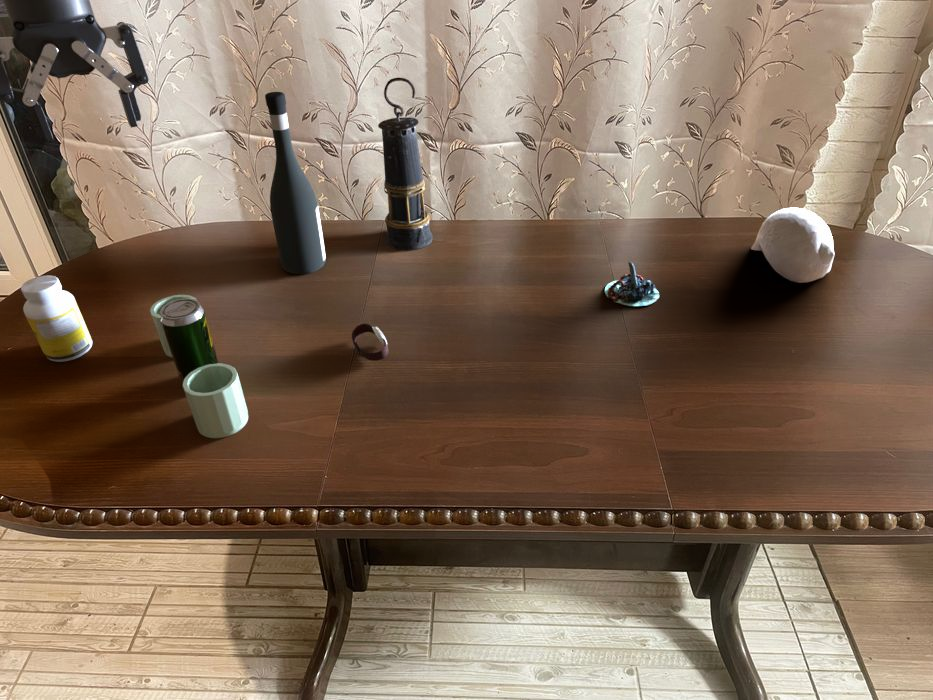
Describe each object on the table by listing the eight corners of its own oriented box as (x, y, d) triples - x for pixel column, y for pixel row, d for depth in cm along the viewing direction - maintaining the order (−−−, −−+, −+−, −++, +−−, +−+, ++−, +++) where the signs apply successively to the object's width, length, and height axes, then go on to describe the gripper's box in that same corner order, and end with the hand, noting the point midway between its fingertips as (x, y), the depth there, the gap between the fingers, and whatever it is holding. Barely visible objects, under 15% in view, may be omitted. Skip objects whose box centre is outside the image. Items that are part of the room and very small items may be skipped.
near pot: (204, 445, 81) (189, 402, 77) (191, 416, 85) (177, 374, 81) (254, 426, 84) (243, 383, 80) (240, 399, 88) (228, 357, 84)
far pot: (168, 363, 95) (155, 323, 91) (159, 341, 99) (146, 302, 95) (213, 349, 98) (202, 309, 93) (202, 329, 102) (191, 290, 98)
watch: (397, 357, 96) (395, 337, 93) (368, 368, 94) (365, 347, 91) (373, 332, 101) (371, 312, 99) (345, 342, 99) (342, 322, 97)
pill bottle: (64, 336, 100) (34, 270, 94) (102, 340, 100) (75, 273, 93) (35, 362, 95) (1, 293, 88) (76, 365, 94) (45, 297, 88)
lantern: (390, 228, 131) (377, 68, 113) (436, 229, 130) (429, 69, 112) (381, 249, 123) (365, 82, 106) (429, 251, 122) (421, 83, 105)
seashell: (753, 312, 118) (815, 275, 104) (715, 245, 120) (771, 201, 107) (810, 288, 123) (876, 251, 110) (773, 225, 126) (833, 181, 113)
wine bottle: (310, 251, 123) (282, 84, 105) (335, 265, 118) (311, 93, 101) (273, 266, 118) (237, 94, 100) (298, 281, 114) (265, 103, 96)
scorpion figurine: (646, 299, 103) (630, 257, 106) (609, 318, 108) (595, 277, 110) (670, 304, 109) (654, 264, 111) (634, 321, 113) (619, 283, 116)
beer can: (193, 398, 88) (168, 324, 81) (175, 380, 91) (150, 308, 84) (229, 381, 91) (209, 308, 84) (211, 364, 94) (190, 293, 87)
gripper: (108, -44, 69) (152, 113, 78) (-52, -35, 63) (17, 134, 72) (120, -37, 64) (166, 130, 73) (-53, -27, 58) (22, 154, 67)
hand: (92, 132), depth 73 cm, fingers open, 8 cm apart
